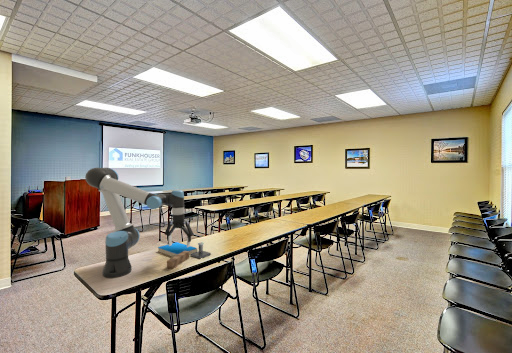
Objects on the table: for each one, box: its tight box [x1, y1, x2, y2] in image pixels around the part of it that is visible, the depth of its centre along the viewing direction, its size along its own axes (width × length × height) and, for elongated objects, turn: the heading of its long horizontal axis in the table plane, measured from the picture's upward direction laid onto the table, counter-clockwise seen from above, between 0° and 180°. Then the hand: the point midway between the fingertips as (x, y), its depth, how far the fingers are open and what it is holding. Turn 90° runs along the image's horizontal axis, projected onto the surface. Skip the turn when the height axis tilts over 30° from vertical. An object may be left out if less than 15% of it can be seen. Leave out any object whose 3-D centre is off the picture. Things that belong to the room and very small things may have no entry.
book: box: [157, 241, 198, 258], centre depth 186 cm, size 17×4×25 cm
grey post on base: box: [190, 242, 212, 260], centre depth 178 cm, size 10×10×9 cm
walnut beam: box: [166, 251, 190, 270], centre depth 164 cm, size 20×4×5 cm, turn 165°
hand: (179, 246), depth 164 cm, fingers open, 13 cm apart
